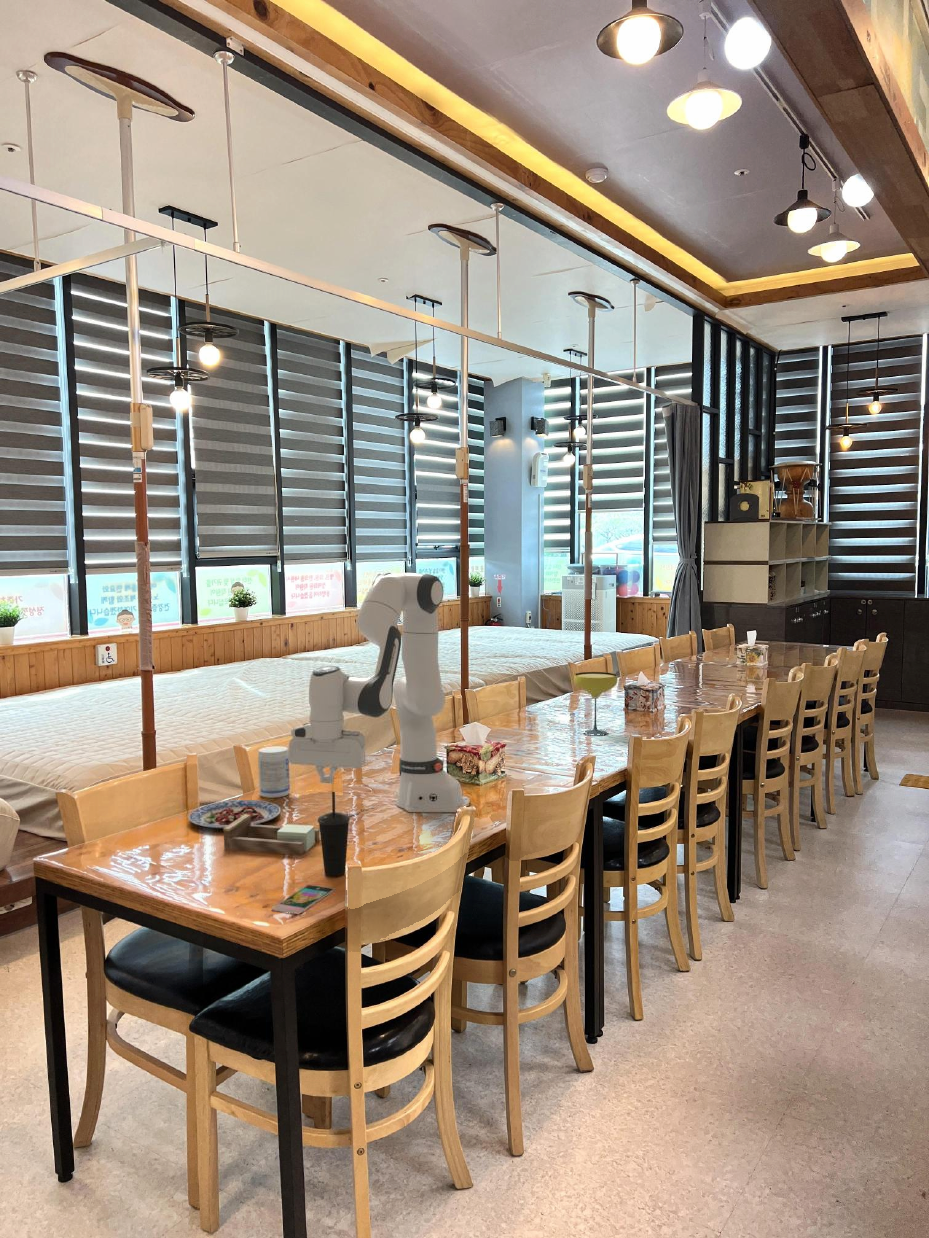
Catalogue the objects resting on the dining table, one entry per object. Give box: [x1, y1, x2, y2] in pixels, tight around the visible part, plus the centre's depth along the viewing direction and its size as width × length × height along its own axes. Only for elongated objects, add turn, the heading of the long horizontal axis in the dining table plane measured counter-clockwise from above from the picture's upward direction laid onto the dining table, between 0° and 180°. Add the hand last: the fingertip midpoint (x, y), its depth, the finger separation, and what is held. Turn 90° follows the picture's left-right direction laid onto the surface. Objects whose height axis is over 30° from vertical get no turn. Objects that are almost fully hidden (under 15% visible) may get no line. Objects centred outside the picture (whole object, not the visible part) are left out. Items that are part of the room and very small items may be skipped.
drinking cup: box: [317, 791, 351, 878], centre depth 206 cm, size 8×8×20 cm
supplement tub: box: [257, 745, 291, 799], centre depth 275 cm, size 10×10×15 cm
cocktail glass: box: [573, 671, 618, 735], centre depth 364 cm, size 18×18×25 cm
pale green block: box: [276, 824, 316, 852], centre depth 226 cm, size 8×7×5 cm
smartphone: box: [271, 884, 335, 915], centre depth 192 cm, size 7×1×15 cm
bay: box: [222, 814, 321, 856], centre depth 228 cm, size 22×12×6 cm, turn 77°
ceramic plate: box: [188, 799, 282, 829], centre depth 250 cm, size 26×26×3 cm
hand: (326, 782), depth 223 cm, fingers closed
